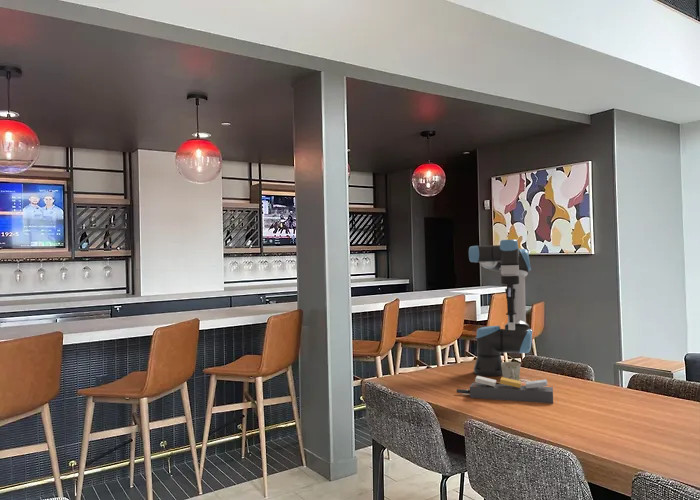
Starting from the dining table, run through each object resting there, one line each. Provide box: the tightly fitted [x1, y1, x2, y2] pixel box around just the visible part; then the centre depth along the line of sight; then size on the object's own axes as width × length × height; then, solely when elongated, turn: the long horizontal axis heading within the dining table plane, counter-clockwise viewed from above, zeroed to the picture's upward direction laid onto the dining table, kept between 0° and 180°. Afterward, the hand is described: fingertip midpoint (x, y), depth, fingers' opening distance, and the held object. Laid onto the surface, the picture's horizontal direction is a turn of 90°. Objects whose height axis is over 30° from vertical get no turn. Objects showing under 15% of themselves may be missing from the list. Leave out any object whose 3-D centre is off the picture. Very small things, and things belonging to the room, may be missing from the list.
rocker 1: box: [474, 375, 497, 387], centre depth 219 cm, size 5×8×2 cm, turn 69°
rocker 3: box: [525, 378, 548, 389], centre depth 212 cm, size 5×8×2 cm, turn 69°
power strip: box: [456, 382, 554, 404], centre depth 217 cm, size 8×38×5 cm, turn 69°
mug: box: [501, 361, 521, 381], centre depth 235 cm, size 8×13×10 cm, turn 174°
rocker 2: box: [499, 376, 522, 388], centre depth 216 cm, size 5×8×2 cm, turn 69°
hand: (511, 329), depth 228 cm, fingers closed
